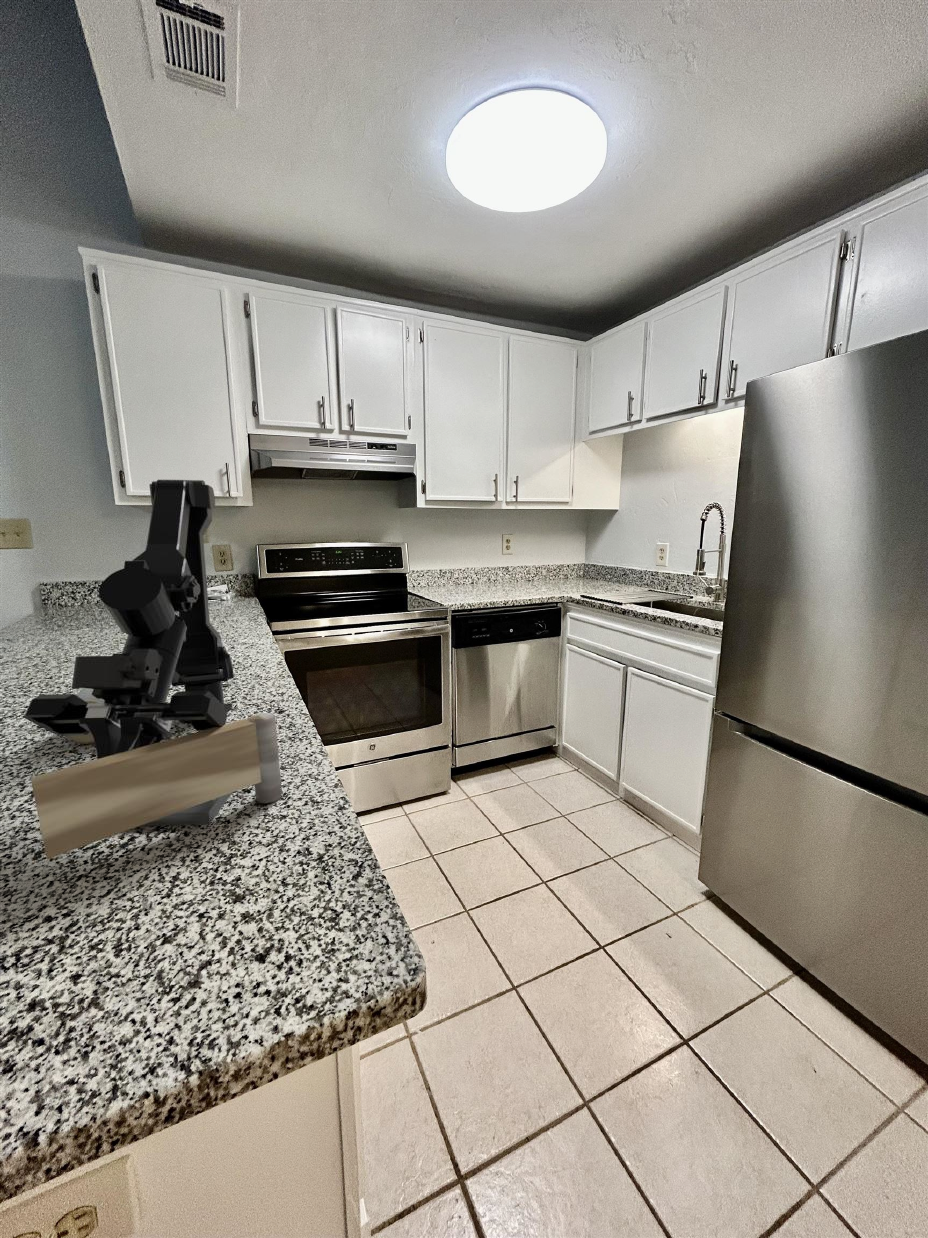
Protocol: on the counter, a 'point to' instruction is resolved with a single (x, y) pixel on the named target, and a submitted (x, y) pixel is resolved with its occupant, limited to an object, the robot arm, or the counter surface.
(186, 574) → the robot arm
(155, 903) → the counter surface
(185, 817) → the panel
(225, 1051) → the counter surface
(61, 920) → the counter surface
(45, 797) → the swing bar
